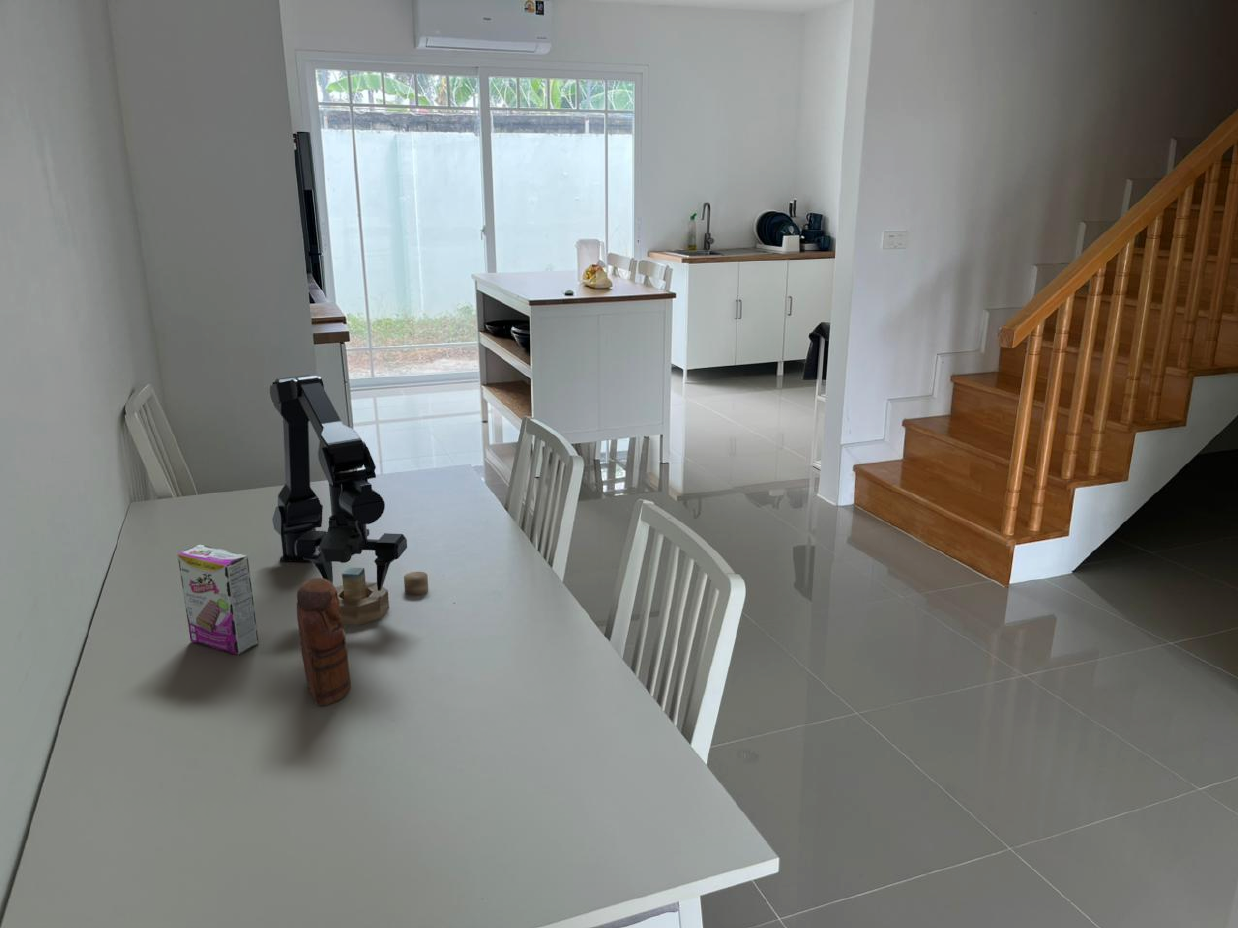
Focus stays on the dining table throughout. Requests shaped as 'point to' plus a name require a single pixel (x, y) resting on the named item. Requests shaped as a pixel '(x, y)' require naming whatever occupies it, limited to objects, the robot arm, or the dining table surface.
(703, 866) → the dining table surface
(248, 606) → the candy bar box
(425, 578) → the loose bead
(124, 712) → the dining table surface
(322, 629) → the wooden figurine
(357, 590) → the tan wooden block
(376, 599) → the wooden octagonal ring
